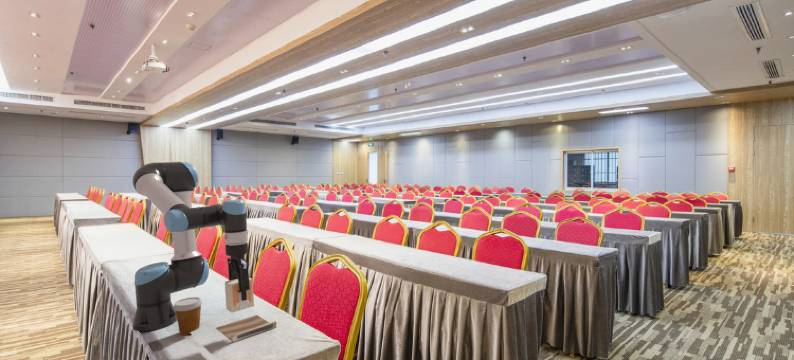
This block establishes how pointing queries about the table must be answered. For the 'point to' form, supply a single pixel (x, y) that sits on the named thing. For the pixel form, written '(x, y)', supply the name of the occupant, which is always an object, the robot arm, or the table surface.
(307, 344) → the table surface
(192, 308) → the disposable coffee cup
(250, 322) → the shelf board
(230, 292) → the carton
